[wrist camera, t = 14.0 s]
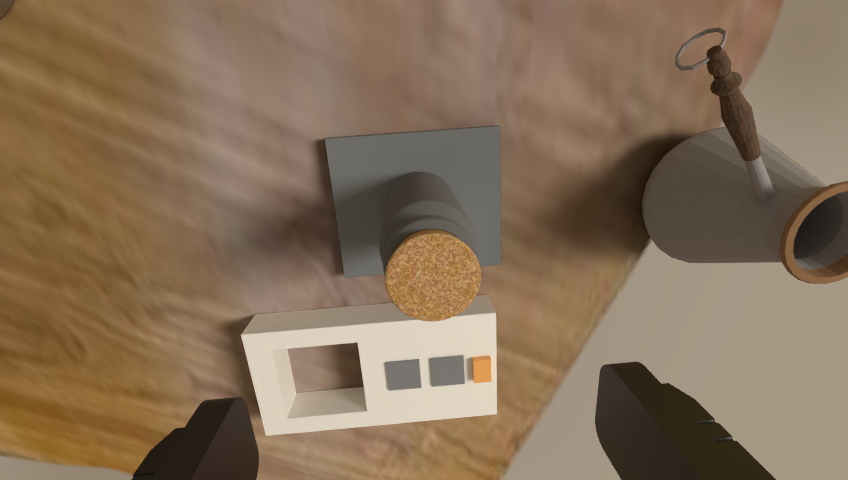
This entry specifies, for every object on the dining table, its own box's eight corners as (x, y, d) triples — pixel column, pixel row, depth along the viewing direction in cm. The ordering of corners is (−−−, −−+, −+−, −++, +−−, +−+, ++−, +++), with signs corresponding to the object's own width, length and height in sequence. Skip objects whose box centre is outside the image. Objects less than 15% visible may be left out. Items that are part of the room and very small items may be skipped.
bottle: (430, 250, 35) (449, 350, 20) (372, 215, 33) (350, 297, 19) (468, 195, 33) (517, 262, 19) (409, 156, 32) (415, 198, 18)
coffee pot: (777, 183, 36) (1024, 233, 22) (677, 274, 38) (841, 373, 24) (627, 7, 30) (822, -79, 16) (523, 126, 33) (614, 140, 19)
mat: (346, 272, 36) (344, 277, 35) (327, 137, 32) (324, 139, 31) (497, 259, 37) (500, 264, 35) (496, 125, 33) (500, 126, 32)
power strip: (277, 408, 41) (263, 440, 37) (255, 314, 37) (238, 338, 33) (489, 389, 41) (498, 418, 37) (487, 294, 38) (497, 316, 34)
